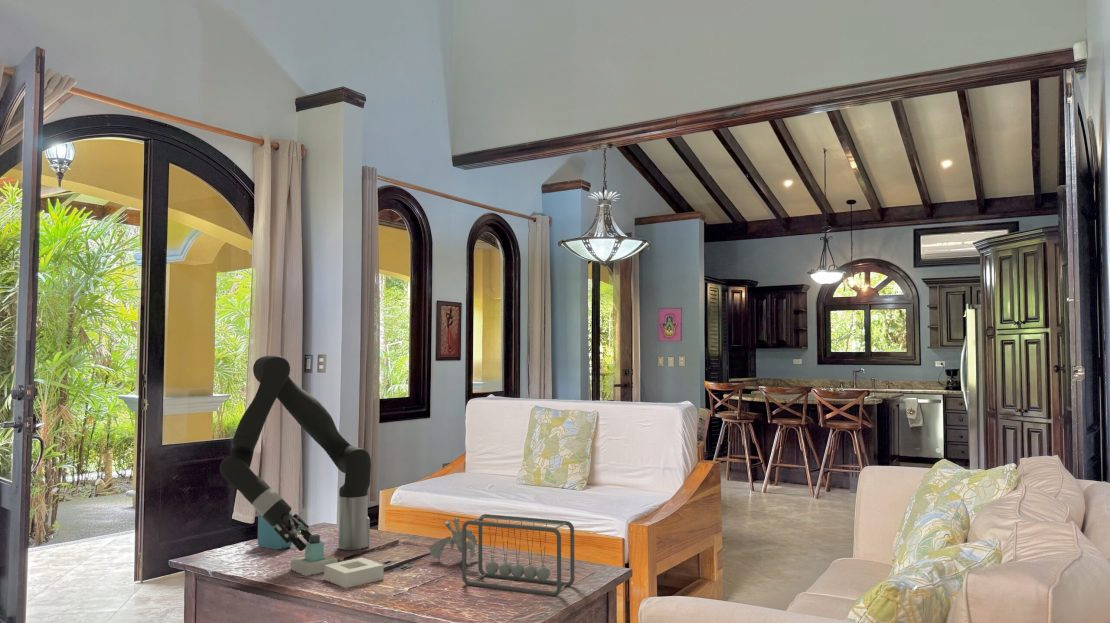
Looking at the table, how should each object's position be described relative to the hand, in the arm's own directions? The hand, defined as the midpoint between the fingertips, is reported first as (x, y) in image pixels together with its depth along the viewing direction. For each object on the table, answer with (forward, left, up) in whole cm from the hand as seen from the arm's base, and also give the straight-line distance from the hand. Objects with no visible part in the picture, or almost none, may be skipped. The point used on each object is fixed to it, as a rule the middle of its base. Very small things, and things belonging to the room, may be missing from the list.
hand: (308, 545), depth 227 cm
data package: (-5, -35, -7) cm, 36 cm away
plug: (-1, +1, -7) cm, 7 cm away
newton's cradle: (-33, +57, -7) cm, 67 cm away
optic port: (-4, +19, -7) cm, 21 cm away
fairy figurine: (-37, +25, -7) cm, 46 cm away
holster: (-1, +1, -7) cm, 7 cm away
